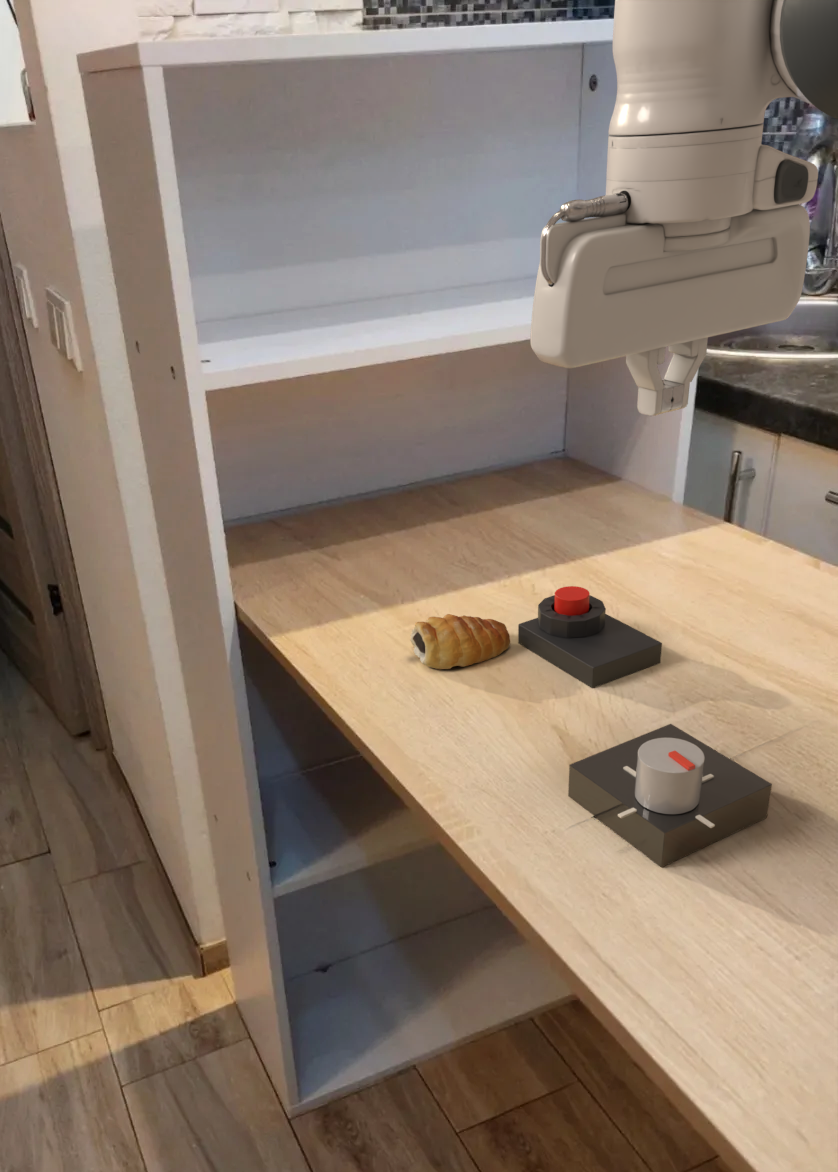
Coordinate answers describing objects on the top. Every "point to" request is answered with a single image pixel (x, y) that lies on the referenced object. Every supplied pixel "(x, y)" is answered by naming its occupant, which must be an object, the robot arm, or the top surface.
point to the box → (588, 643)
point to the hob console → (666, 838)
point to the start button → (571, 601)
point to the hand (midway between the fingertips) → (662, 411)
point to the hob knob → (669, 775)
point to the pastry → (458, 640)
